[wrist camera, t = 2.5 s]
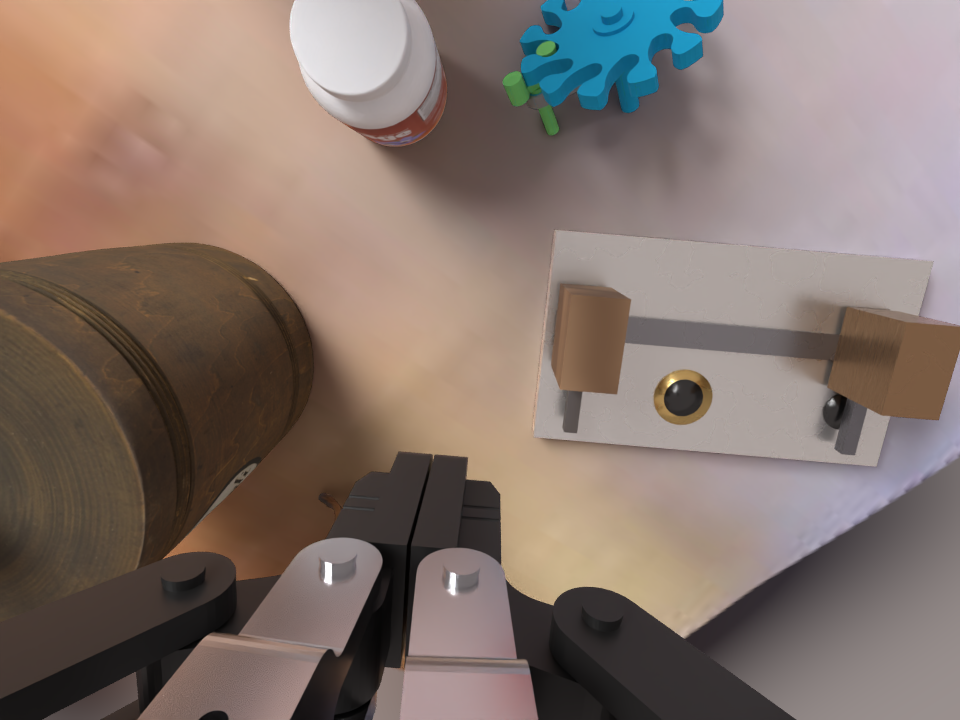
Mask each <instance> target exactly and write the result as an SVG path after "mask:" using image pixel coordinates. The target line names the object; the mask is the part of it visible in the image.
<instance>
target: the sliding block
mask: <svg viewBox="0 0 960 720" xmlns="http://www.w3.org/2000/svg"><path fill="white" fill-rule="evenodd" d="M630 305H631V299H629V298H628V297H626V296H624V295H623V294H621V293H619V292H618V291H616V290H615V289H613V288H611V287H599V286H587V285H575V284H563V283H560V291H559V300H558V308H557V317H556V325H555V334H554V343H553V351H552V360H551V367H552V370H553V372H554V375H555V378H556V380H557V383H558V386H559V388H560V390H567V394H566V402H565V410H564V418H563V426H562V428H563V431H564V432H567V433H577V430H578V422H579V415H580V407H581V400H582V392H593V393H605V394H617V392H618V386H619V379H620V372H621V366H622V359H623V352H624V345H625V339H626V332H627V325H628V318H629V312H630Z"/></svg>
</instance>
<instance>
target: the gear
mask: <svg viewBox="0 0 960 720" xmlns="http://www.w3.org/2000/svg"><path fill="white" fill-rule="evenodd" d="M541 11H542V14H543V17H544V20H545V23H546V24H547V25H553V26H557V27H559V28H560V29H559V30H558V31H557V32H555V33H553V34H545V33H544V32H543V30H542V28H541V27H540V26H538V25H533V26H530V27H529V28H528V29H527V30H526V31H525V33H524V34H523V36H522V37H521V39H520V43H521V46H522V49H523V52H524V54H525V55H526V57H524V58H523V60H522V62H521V73H522V75H521V73H520V72H518V71H514V72H511V73H509V74H507V75H506V76H505V77H504V79H503V85H504V88H505V90H506V92H507V95H508V97H509V99H510V102H511V104H512V105H513V106H521V105H523V104H525V103H526V102H527V105H528V106H529V107H530V108H532V109H538V110H539V113H540V115H541V118H542V121H543V123H544V126H545V129H546V131H547V134H548V135H555V134H556V133H557V132H558V131H559V126H558V123H557V121H556V118H555V115H554V112H553V109H552V107H555V106H557V105H559V104H561V103H562V102H563V101H564V100H565V99H566V97H567V96H569V95H571V94H573V93H575V92H577V94H578V97H579V101H580V104H581V107H583V108H585V109H590V110H601V109H603V108H604V107H605V106H606V104H607V102H608V95H609V91H610V89H611V87H612V85H613V84H614V83H615V82H616V87H617V91H618V96H619V100H620V105H621V109H622V111H623V112H625V113H631V112H633V111H635V110H636V109H637V108H638V107H639V99H638V97H642V96H645V95H649V94H652V93H654V92H657V90H658V88H659V83H658V77H657V70H656V67H655V66H654V65H652V64H651V62H652V58H653V56H654V55H655V54H656V53H657V52H658V51H660V50H663V49H671V50H672V59H673V65H674V67H675V68H677V69H680V70H682V69H685V68H687V67H689V66H690V65H692V64H693V63H695V62H696V61H698V60H699V59H700V58H701V57H702V56H703V48H702V38H701V36H700V35H698V34H695V33H687V32H683V31H681V30H679V29H677V28H676V26H678V25H680V24H683V23H691V24H693V25H694V27H695V28H696V30H697V31H699V32H701V33H710V32H713V31H714V30H715V29H716V28H717V26H718V25H719V23H720V22H721V20H722V17H723V15H724V14H723V0H693V1H684V0H581V1H580V4H579V5H578V6H577V7H576V8H574V9H572V10H570V11H567V7H566V4H565V0H548V1H546V2H545V3H544V4H543V5H541ZM522 76H523V77H522ZM523 78H524V80H523ZM524 81H525V83H524Z"/></svg>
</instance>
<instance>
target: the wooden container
mask: <svg viewBox="0 0 960 720" xmlns="http://www.w3.org/2000/svg"><path fill="white" fill-rule="evenodd" d="M312 377H313V353H312V347H311V341H310V338H309V334H308V331H307V329H306V326H305V323H304V321H303V319H302V317H301V315H300V313H299V311H298V309H297V308H296V306H295V304H294V302H293V301H292V299H291V298H290V297H289V296H288V295H287V293H286V292H285V291H284V289H283V288H282V287H281V286H280V285H279V284H278V283H277V282H276V281H275V280H274V279H273V278H272V277H271V276H270V275H269V274H268V273H267V272H265V271H264V270H263V269H262V268H260V267H259V266H258V265H256V264H255V263H253V262H251V261H249V260H248V259H246V258H244V257H242V256H240V255H238V254H236V253H233V252H231V251H228V250H225V249H222V248H219V247H215V246H210V245H205V244H199V243H166V244H155V245H146V246H134V247H123V248H110V249H100V250H92V251H84V252H75V253H68V254H62V255H55V256H49V257H41V258H34V259H26V260H18V261H11V262H3V263H0V622H2V621H4V620H7V619H9V618H12V617H15V616H17V615H20V614H22V613H25V612H28V611H30V610H33V609H35V608H38V607H40V606H43V605H46V604H48V603H51V602H53V601H56V600H59V599H61V598H64V597H66V596H69V595H72V594H74V593H77V592H79V591H82V590H85V589H87V588H90V587H92V586H95V585H98V584H100V583H103V582H105V581H108V580H110V579H113V578H116V577H118V576H121V575H123V574H126V573H129V572H131V571H134V570H136V569H139V568H142V567H144V566H147V565H149V564H152V563H155V562H157V561H160V560H162V559H163V558H164V557H165V556H166V555H167V554H168V553H169V552H170V551H171V550H172V549H174V548H175V547H176V546H177V545H178V544H179V543H180V542H181V541H182V540H183V539H184V538H185V537H186V536H187V535H188V534H189V533H190V532H191V531H192V530H193V529H194V528H195V527H196V526H197V525H198V524H199V523H200V522H201V521H202V520H203V519H204V518H205V517H206V516H207V515H208V514H209V513H210V512H211V511H212V510H213V509H214V508H215V507H216V506H218V505H219V504H220V503H221V502H222V501H223V500H224V499H225V498H226V497H227V496H228V495H229V494H230V493H231V492H232V491H233V490H234V489H235V488H236V487H237V486H238V485H239V484H240V483H241V482H242V481H243V480H244V479H245V478H246V477H247V476H248V475H249V474H250V473H251V472H252V471H253V470H254V469H255V467H256V466H257V465H258V464H259V463H260V462H261V461H262V460H263V459H264V457H265V456H266V455H267V454H268V453H269V452H270V451H271V450H272V449H273V448H274V447H275V446H276V444H277V443H278V442H279V441H280V440H281V439H282V438H283V437H284V436H285V435H286V434H287V432H288V431H289V430H290V429H291V428H292V426H293V425H294V424H295V422H296V421H297V419H298V418H299V416H300V415H301V413H302V411H303V409H304V407H305V405H306V402H307V400H308V396H309V393H310V389H311V385H312Z"/></svg>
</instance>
